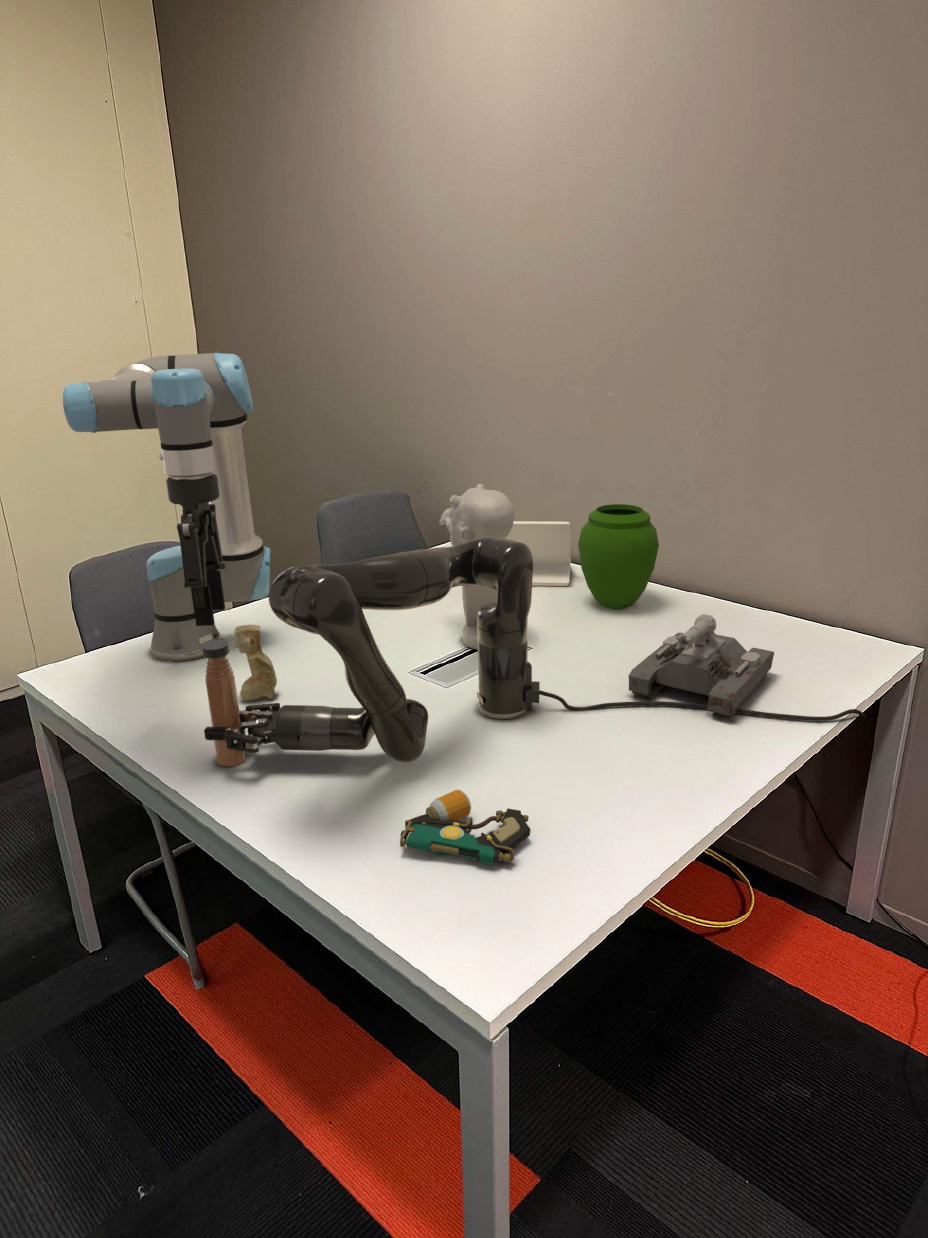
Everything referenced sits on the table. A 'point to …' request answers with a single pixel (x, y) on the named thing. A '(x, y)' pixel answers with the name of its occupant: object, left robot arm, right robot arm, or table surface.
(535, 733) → the table surface
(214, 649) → the cap
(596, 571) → the vase
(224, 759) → the bottle
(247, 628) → the sculpture
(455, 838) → the spray gun
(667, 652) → the toy
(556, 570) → the tablet stand
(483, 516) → the bust sculpture
